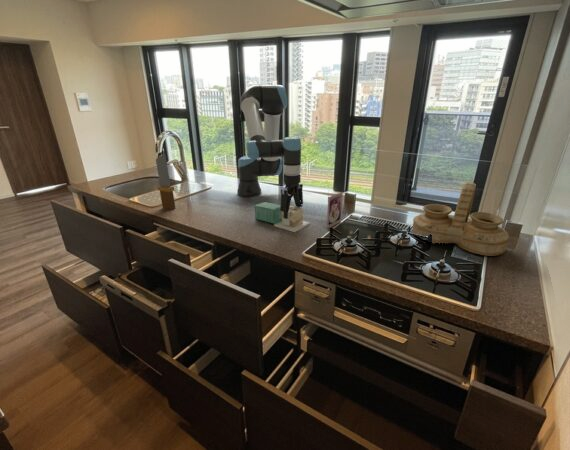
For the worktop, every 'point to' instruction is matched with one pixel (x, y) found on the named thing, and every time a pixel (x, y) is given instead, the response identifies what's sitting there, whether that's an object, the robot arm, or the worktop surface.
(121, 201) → the worktop surface
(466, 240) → the ceramic vessel
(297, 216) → the letter cube
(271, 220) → the box
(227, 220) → the worktop surface
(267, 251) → the worktop surface
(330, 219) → the greeting card
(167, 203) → the knife
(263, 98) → the robot arm
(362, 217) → the worktop surface
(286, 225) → the tile
